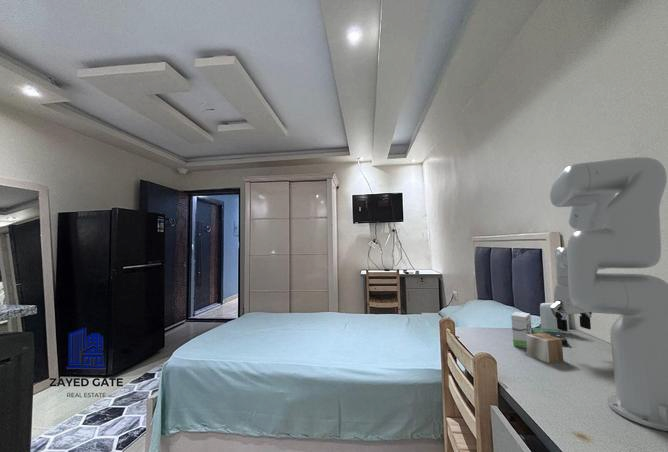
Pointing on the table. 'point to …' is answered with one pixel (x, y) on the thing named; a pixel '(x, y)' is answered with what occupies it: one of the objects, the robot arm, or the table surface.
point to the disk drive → (551, 334)
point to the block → (544, 347)
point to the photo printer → (550, 318)
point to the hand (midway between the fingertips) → (574, 329)
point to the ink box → (521, 328)
